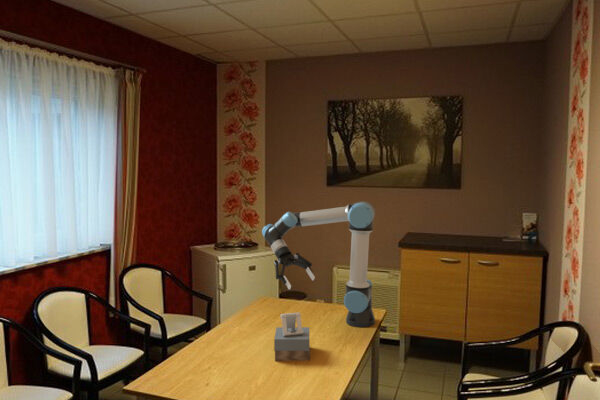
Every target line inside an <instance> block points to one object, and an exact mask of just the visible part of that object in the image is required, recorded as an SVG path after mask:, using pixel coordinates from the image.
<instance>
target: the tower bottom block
mask: <svg viewBox="0 0 600 400" xmlns="http://www.w3.org/2000/svg"><path fill="white" fill-rule="evenodd" d="M274 361H275V362H290V361H291V362H295V361H297V362H299V361H300V362H301V361H311V350H310V351H274Z"/></svg>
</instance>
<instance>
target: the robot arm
mask: <svg viewBox="0 0 600 400" xmlns="http://www.w3.org/2000/svg"><path fill="white" fill-rule="evenodd" d="M375 217H376V209H375V206H374V205H373V204H372V203H371V202H369V201H367V200H362V201H358V202H354V203H348V204H347V205H346V206H340V207H333V208H325V209H316V210H309V211H300V212H291V211H287V212H286V213H284V214H283V215H282V216H281V217H280V218H278V220H277V221H276V222H275V223H274V224H272V223H269V224H267V225H265V226H264V227H262V230H261V234H262V236H263V239H264V240H265V241H266V242H267V244H268V245H269V247H270V249H271V250H272V252H273V254H274V255H275V258H276V259H275V260H274V262H273V265H274V267H275V280H279V281H281V282H282V283H283V285H285V286H286V287H287V289H288V290H289V291H290V290H291V288H292V284H291V283H290V281H289V279H288V277H287V276H286V275H284V274H285V269H286V267H290V266H293V265H294V266H298V267H300V268H302V269H304V270H305V273H307V275H308V276H309V278H310V279H311V281H314V280H315V278H316V276H315V275H314V273H313V270H312V268H311V267H312V265H313V263H312V262H311V261H309V260H308V259H306V258H304V257H303V256H302V255H301V254H300V253H299V252H296V253H295V254H292V252H291V251H292V250H290V248H289V247H288V245H287V244H286V242H285V240H284V239H283V237H284V236H285V235H286V234H287V233H288V232H289V231H291V230H292V229H294V228H300V227H308V226H317V225H326V224H333V223H342V222H348V230H349V232H351V243H350V258H349V259H350V261H349V262H350V263H349V277H348V278H349V280H348V281H346V283H345V293H344V294H345V295H344V297H343V304H344V307H345V308H346V309H347V310H348V311H347V314H346V317H345V322H346V325H349V326H351V327H356V328H357V327H358V328H368V327H372V326H374V325H375V324H376V317H375V315H374V312H373V306H372V305H373V302H372V301H373V300H372V299H373V297H372V295H373V293H372V292H373V291H372V290H373V289H372V288H373V284H372V283H373V282H372V281H371V280H370V279H368V266H369V265H368V264H369V246H370V235H371V233H372V232H373V231H374V230H373V228H374V218H375ZM280 265H282V267H281V270H280Z"/></svg>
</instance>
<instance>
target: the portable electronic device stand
mask: <svg viewBox="0 0 600 400" xmlns="http://www.w3.org/2000/svg"><path fill="white" fill-rule="evenodd" d="M280 319H281V327H282V328H283V336H293V335H303V330H302V316H301V312H292V313H290V312H289V313H281V314H280ZM296 326H297V328H298V330H297V331H296V332H294V333H291V331H287V330H288V328H292V330H295V327H296Z"/></svg>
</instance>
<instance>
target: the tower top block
mask: <svg viewBox="0 0 600 400" xmlns="http://www.w3.org/2000/svg"><path fill="white" fill-rule="evenodd" d="M297 330H298V328H297V327H296V326H295V330H292V328H288V330H287V331H291V333H294V332H296V331H297ZM302 330H303V335H293V336H283V328H282V326H281V327H280V326H279V327H278V326H277V327H276V328H275V333H274V340H273V343H274V344H273V345H274V347H273V348H274V349H273V350H274V352H275V351H310V352H311V346H310V345H311V344H310V327H309V326H308V327H307V326H303V327H302Z"/></svg>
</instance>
